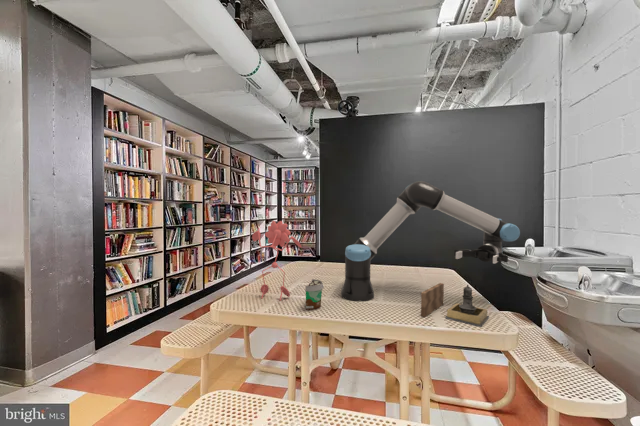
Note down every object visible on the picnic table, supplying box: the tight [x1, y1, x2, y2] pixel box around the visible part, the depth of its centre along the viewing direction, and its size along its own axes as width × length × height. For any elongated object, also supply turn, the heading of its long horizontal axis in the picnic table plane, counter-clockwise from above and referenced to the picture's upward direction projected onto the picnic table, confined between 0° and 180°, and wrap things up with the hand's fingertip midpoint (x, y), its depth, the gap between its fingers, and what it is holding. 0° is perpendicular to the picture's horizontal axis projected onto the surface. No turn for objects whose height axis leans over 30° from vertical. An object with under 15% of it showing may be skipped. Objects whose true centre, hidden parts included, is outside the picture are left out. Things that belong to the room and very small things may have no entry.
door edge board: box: [420, 282, 445, 318], centre depth 119 cm, size 20×2×9 cm, turn 138°
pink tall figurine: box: [251, 220, 303, 303], centre depth 137 cm, size 15×26×35 cm, turn 71°
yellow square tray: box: [445, 303, 490, 328], centre depth 110 cm, size 12×12×3 cm
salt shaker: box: [459, 284, 477, 315], centre depth 110 cm, size 6×6×12 cm
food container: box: [304, 279, 324, 311], centre depth 121 cm, size 12×6×10 cm, turn 168°
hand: (474, 257), depth 118 cm, fingers open, 13 cm apart
